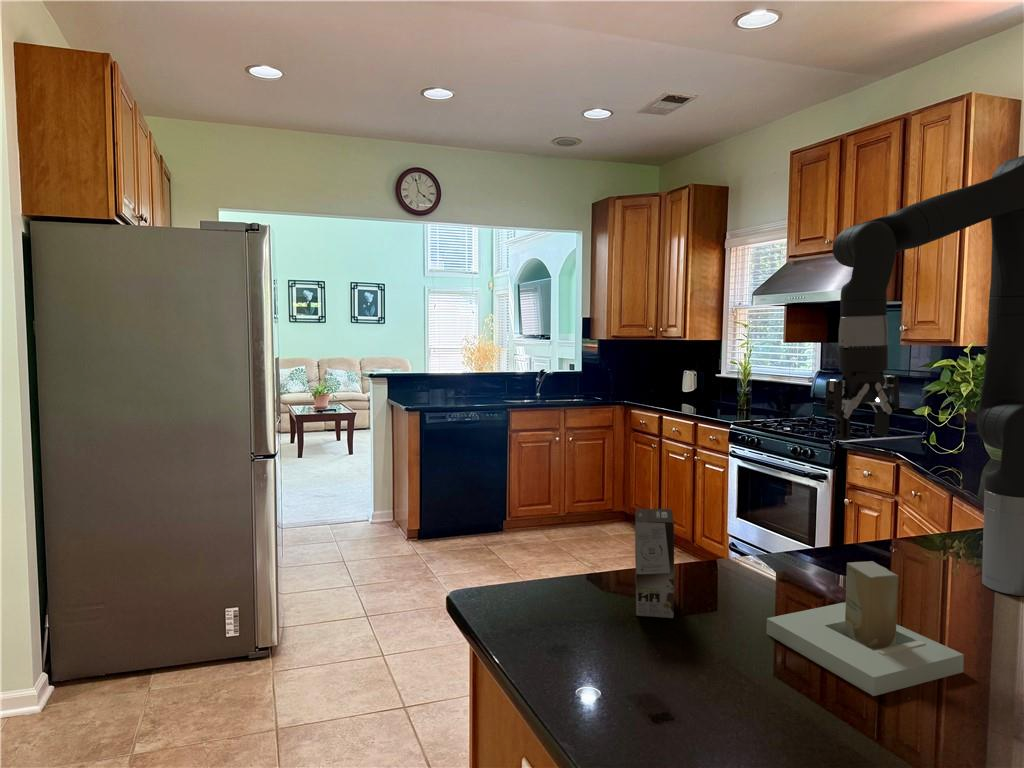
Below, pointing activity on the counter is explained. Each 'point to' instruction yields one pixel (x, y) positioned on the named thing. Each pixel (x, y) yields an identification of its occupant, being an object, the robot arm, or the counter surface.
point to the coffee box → (654, 562)
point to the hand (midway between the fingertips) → (862, 437)
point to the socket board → (864, 651)
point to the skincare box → (871, 605)
